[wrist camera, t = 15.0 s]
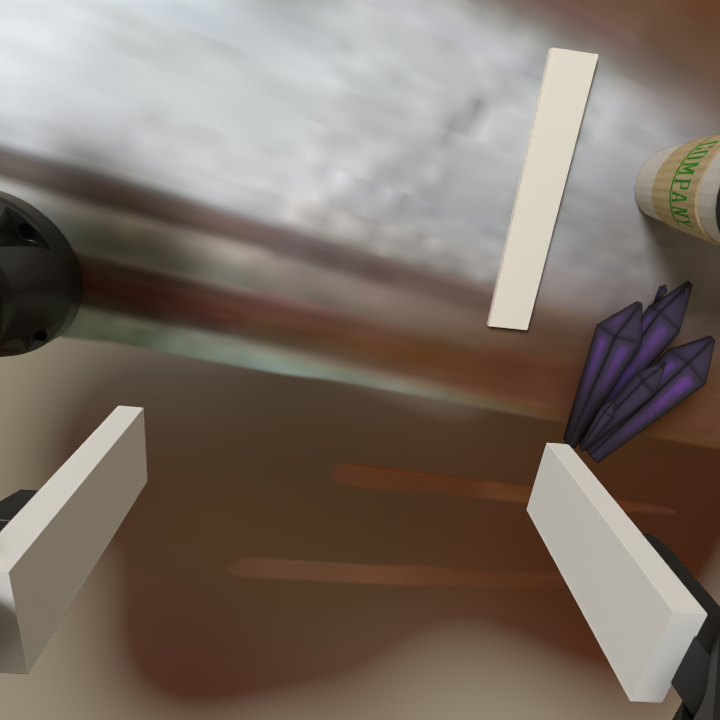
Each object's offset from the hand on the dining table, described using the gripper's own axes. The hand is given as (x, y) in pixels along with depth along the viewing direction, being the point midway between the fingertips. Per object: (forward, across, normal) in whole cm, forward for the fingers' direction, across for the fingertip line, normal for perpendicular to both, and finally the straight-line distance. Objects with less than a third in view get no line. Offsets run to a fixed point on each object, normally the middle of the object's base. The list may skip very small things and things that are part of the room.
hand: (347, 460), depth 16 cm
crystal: (+33, -30, +7) cm, 45 cm away
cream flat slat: (+33, -17, -8) cm, 38 cm away
